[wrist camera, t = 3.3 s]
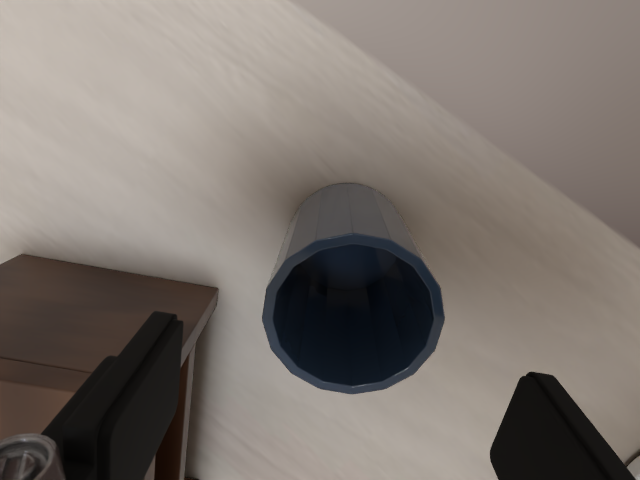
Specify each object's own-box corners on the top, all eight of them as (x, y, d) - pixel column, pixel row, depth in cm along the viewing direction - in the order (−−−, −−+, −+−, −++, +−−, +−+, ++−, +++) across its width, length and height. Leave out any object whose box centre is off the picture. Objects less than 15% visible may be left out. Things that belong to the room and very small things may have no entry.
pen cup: (417, 194, 23) (466, 253, 14) (389, 299, 25) (417, 406, 16) (298, 172, 22) (276, 219, 14) (281, 281, 25) (253, 378, 16)
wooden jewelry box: (218, 288, 25) (147, 404, 15) (198, 491, 30) (136, 667, 21) (20, 253, 25) (-176, 351, 15) (36, 464, 30) (-100, 632, 21)
